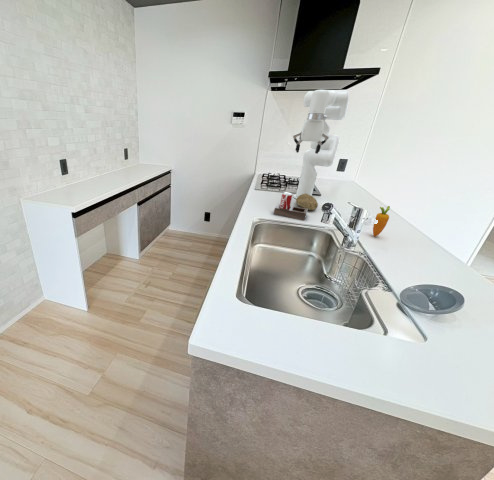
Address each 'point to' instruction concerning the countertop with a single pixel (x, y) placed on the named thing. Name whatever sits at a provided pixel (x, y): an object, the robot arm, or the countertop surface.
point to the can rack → (291, 212)
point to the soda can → (286, 200)
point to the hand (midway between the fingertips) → (306, 152)
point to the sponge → (307, 202)
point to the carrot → (381, 221)
